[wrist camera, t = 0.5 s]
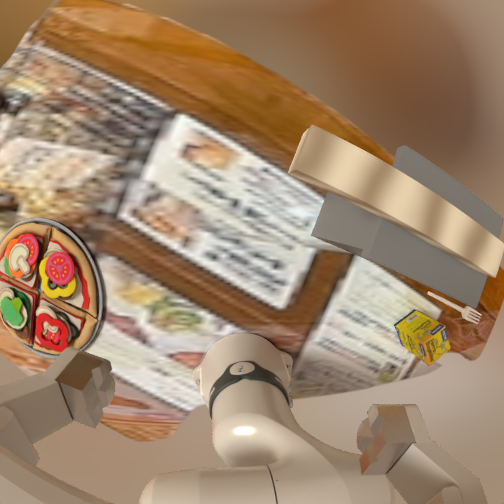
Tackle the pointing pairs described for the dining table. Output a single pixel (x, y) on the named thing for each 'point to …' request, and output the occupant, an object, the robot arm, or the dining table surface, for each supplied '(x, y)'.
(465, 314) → the fork
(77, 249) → the toy pizza
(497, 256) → the birch bar
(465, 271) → the charcoal stand
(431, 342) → the supplement box
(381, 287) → the dining table surface
